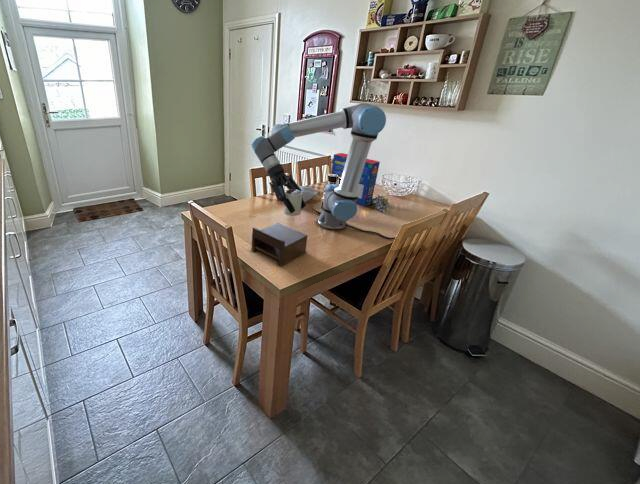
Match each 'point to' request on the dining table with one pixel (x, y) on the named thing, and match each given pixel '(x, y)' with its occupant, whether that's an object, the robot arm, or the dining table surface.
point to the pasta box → (366, 180)
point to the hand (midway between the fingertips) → (298, 209)
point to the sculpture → (307, 193)
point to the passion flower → (380, 203)
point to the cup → (294, 201)
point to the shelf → (279, 242)
